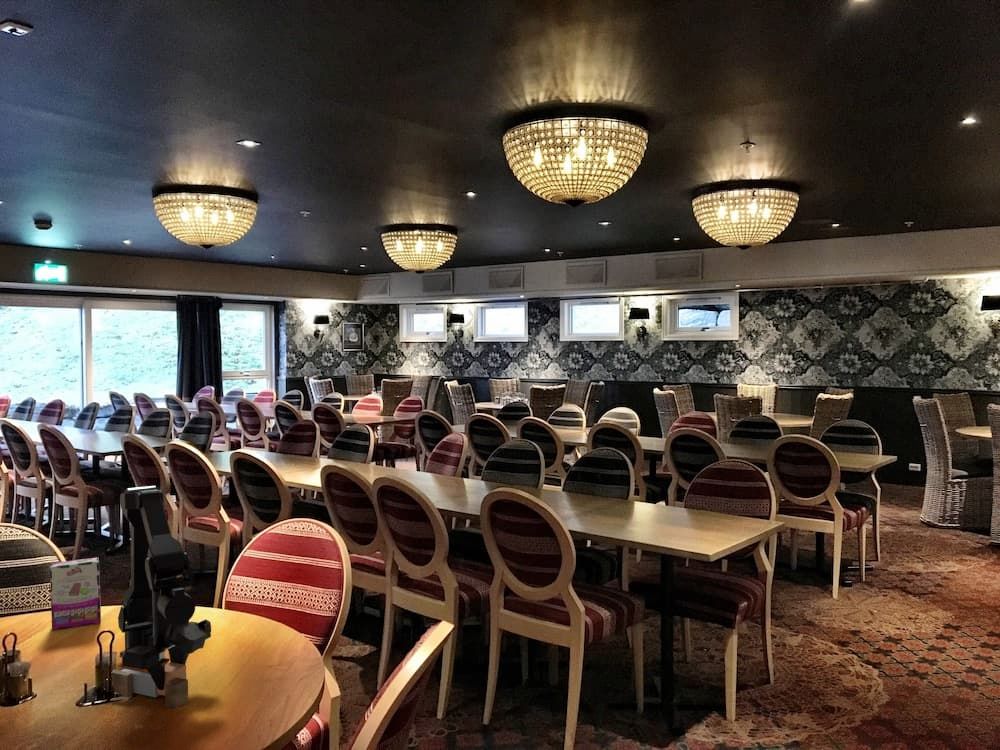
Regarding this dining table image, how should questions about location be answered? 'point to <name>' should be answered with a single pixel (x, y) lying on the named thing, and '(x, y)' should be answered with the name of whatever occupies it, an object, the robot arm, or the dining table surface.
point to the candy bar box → (75, 593)
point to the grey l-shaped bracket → (142, 683)
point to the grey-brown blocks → (173, 689)
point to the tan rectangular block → (173, 673)
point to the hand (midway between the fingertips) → (169, 685)
